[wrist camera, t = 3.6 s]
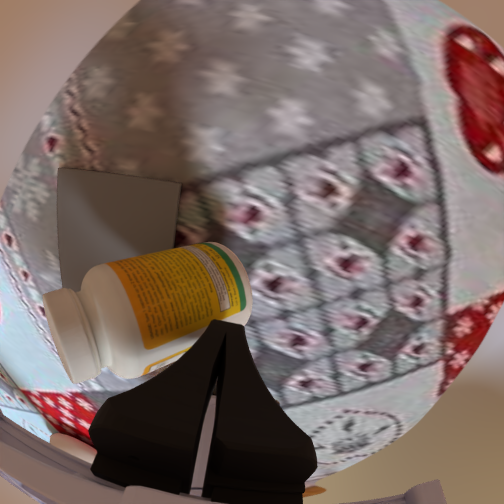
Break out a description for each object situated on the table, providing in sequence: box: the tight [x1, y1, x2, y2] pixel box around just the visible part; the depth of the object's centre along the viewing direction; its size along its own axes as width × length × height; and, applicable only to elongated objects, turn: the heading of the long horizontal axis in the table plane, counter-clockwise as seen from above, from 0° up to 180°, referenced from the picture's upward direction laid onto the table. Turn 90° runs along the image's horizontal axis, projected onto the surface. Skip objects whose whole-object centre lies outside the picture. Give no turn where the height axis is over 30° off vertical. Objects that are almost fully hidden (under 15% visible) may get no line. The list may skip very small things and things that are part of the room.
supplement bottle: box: [43, 242, 252, 384], centre depth 13 cm, size 5×5×10 cm
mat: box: [57, 168, 182, 292], centre depth 18 cm, size 10×9×1 cm
